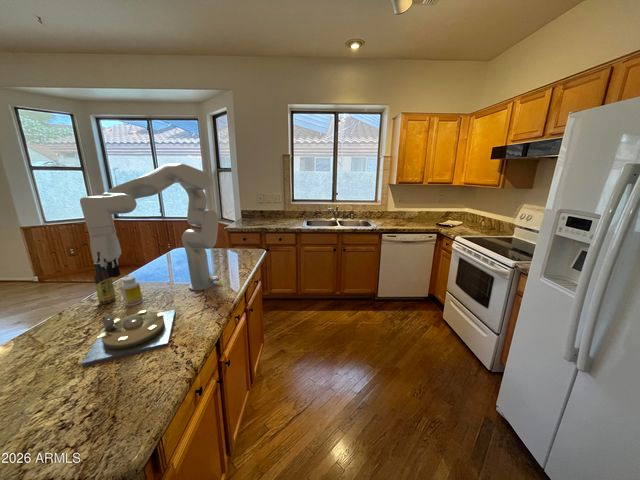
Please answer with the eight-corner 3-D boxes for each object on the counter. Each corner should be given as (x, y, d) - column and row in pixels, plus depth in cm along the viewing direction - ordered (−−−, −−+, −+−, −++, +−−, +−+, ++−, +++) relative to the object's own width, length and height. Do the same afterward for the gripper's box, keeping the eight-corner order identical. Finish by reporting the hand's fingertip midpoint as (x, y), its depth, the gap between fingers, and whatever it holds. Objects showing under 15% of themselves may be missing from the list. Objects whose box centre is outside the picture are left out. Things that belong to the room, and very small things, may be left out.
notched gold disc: (118, 321, 101) (114, 306, 99) (170, 314, 106) (167, 300, 104) (91, 353, 83) (85, 336, 82) (155, 342, 88) (151, 326, 87)
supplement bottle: (146, 301, 121) (140, 276, 117) (131, 307, 115) (125, 282, 111) (137, 298, 123) (132, 274, 120) (122, 304, 118) (116, 279, 114)
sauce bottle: (106, 305, 117) (96, 265, 112) (96, 304, 118) (85, 264, 113) (120, 298, 123) (110, 260, 118) (109, 297, 124) (100, 260, 119)
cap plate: (175, 312, 110) (175, 309, 110) (168, 346, 89) (167, 342, 89) (107, 326, 101) (106, 322, 101) (80, 367, 80) (79, 363, 79)
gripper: (101, 226, 97) (113, 270, 102) (76, 236, 83) (91, 286, 88) (124, 225, 99) (134, 268, 104) (102, 234, 85) (116, 283, 90)
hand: (114, 276), depth 96 cm, fingers closed
